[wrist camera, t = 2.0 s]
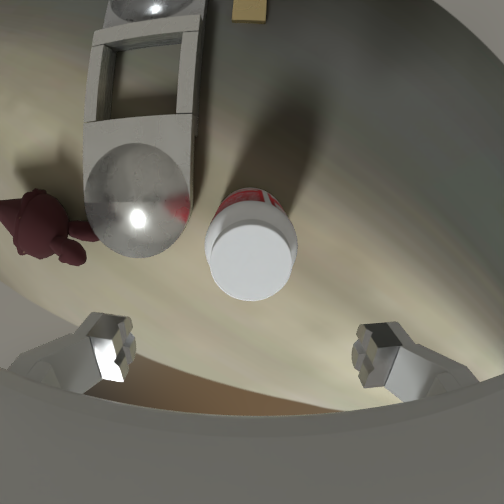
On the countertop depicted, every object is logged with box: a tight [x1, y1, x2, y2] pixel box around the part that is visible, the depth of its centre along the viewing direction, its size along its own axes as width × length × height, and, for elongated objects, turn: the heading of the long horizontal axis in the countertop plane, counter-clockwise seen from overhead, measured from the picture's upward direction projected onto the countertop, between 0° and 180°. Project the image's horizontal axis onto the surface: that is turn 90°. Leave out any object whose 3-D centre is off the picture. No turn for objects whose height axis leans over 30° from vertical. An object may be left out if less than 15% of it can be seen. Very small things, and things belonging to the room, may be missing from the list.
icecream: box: [0, 188, 100, 266], centre depth 23 cm, size 7×7×15 cm
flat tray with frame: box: [83, 0, 208, 258], centre depth 21 cm, size 32×10×3 cm, turn 177°
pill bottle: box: [205, 188, 298, 301], centre depth 22 cm, size 6×6×11 cm
